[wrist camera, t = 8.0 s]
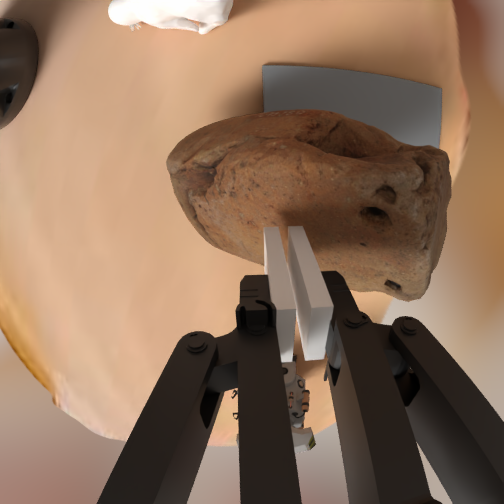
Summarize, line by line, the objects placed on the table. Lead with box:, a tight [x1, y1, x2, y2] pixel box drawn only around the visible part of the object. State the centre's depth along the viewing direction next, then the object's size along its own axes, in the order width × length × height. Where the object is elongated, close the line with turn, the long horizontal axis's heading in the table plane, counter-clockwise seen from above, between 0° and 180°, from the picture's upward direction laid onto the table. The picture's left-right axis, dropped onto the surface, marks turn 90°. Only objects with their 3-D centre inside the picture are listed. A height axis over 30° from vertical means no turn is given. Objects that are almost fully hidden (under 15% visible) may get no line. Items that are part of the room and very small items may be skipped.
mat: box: [262, 65, 442, 149], centre depth 29 cm, size 22×20×1 cm
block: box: [166, 109, 451, 302], centre depth 19 cm, size 11×8×20 cm
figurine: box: [231, 356, 316, 454], centre depth 37 cm, size 9×12×15 cm
